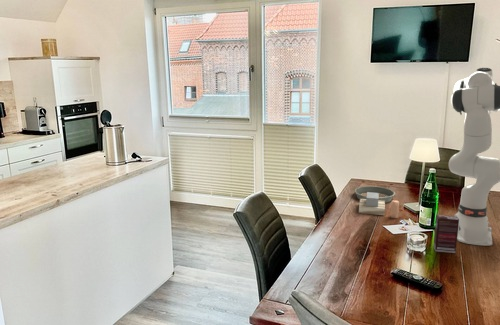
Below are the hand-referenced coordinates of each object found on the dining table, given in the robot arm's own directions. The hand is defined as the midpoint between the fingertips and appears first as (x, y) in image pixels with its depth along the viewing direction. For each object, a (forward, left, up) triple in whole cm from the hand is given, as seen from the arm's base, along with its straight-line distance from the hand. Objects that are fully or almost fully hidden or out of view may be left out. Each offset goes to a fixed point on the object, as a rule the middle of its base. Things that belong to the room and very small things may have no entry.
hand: (478, 114), depth 230 cm
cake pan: (-10, +55, -54) cm, 78 cm away
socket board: (-34, +56, -53) cm, 84 cm away
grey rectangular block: (-34, +56, -49) cm, 82 cm away
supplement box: (-79, +24, -53) cm, 98 cm away
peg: (-42, +44, -53) cm, 81 cm away
